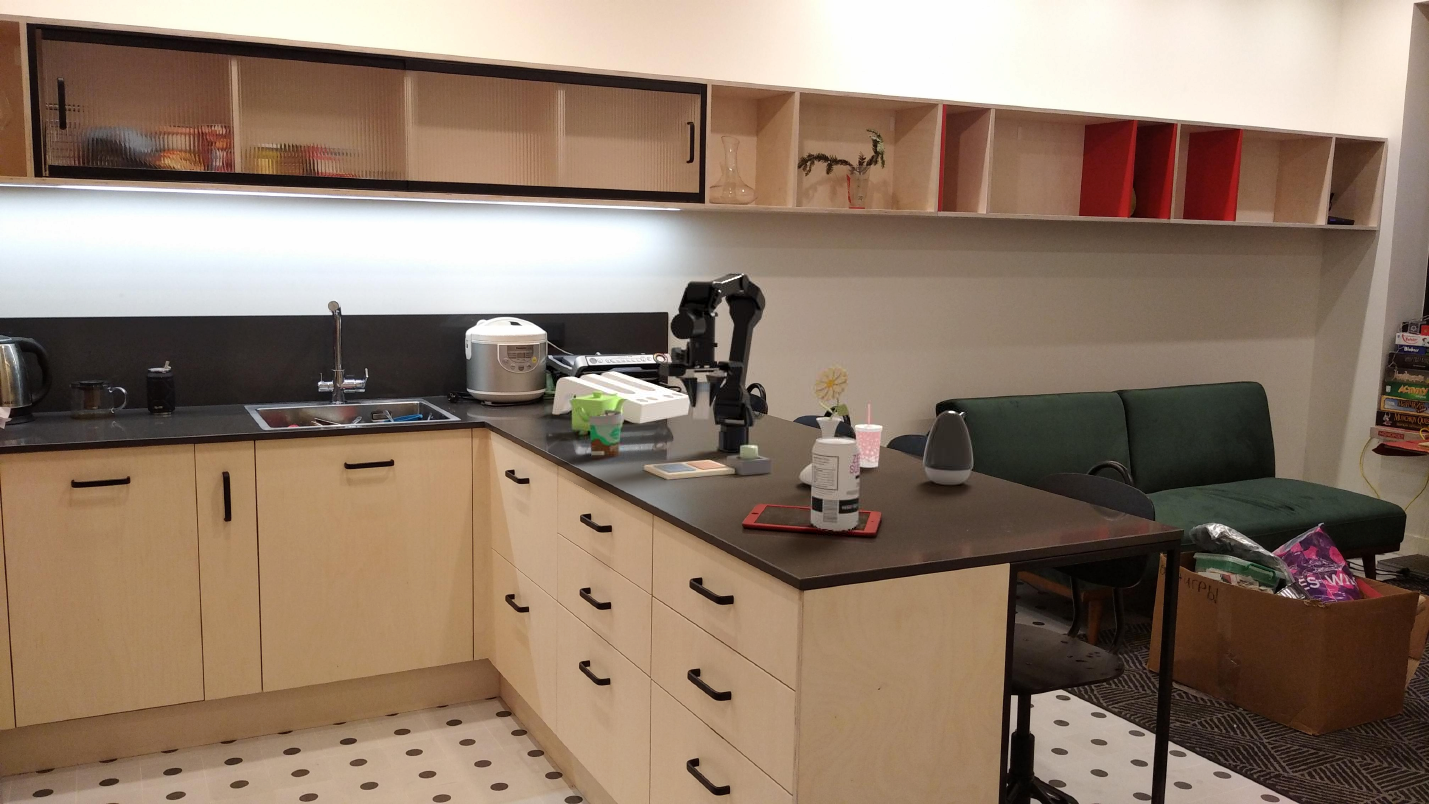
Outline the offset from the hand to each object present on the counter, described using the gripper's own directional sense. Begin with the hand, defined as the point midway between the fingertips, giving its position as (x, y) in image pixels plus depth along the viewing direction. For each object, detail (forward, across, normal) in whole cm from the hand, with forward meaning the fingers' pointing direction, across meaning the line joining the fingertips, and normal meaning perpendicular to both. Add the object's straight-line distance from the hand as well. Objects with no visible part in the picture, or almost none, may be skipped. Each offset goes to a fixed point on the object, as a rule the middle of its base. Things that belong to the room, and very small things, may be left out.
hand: (701, 406), depth 244 cm
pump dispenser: (+13, -37, +41) cm, 57 cm away
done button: (+11, -5, +13) cm, 18 cm away
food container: (+13, +15, -18) cm, 27 cm away
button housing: (+13, -5, +13) cm, 19 cm away
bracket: (+13, -15, -82) cm, 84 cm away
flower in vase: (+13, -12, +34) cm, 39 cm away
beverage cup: (+13, -33, +18) cm, 40 cm away
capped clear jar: (+3, 0, 0) cm, 3 cm away
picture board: (+13, +7, +8) cm, 17 cm away
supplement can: (+14, +6, +63) cm, 65 cm away
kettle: (+13, +5, -50) cm, 52 cm away
